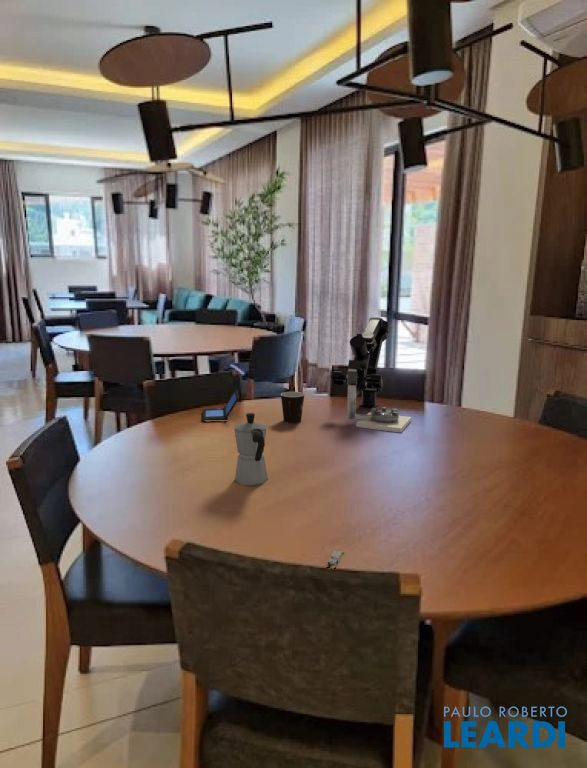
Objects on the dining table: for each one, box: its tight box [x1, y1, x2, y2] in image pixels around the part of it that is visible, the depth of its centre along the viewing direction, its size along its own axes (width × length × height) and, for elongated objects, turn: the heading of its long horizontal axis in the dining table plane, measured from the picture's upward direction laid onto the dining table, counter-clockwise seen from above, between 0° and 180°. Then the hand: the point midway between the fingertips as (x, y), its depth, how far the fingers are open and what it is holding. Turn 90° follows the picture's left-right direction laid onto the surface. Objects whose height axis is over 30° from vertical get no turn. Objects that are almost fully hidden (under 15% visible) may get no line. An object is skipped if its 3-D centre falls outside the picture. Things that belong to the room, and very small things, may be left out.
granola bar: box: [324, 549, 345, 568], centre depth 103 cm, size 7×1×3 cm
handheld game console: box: [201, 389, 240, 421], centre depth 203 cm, size 16×13×9 cm
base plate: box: [355, 411, 412, 433], centre depth 195 cm, size 16×16×2 cm
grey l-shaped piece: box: [346, 368, 400, 422], centre depth 193 cm, size 10×19×18 cm, turn 85°
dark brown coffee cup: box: [280, 391, 305, 424], centre depth 196 cm, size 12×9×10 cm
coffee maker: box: [233, 412, 269, 487], centre depth 139 cm, size 15×9×18 cm, turn 23°
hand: (352, 398), depth 195 cm, fingers closed, pressing on grey l-shaped piece
